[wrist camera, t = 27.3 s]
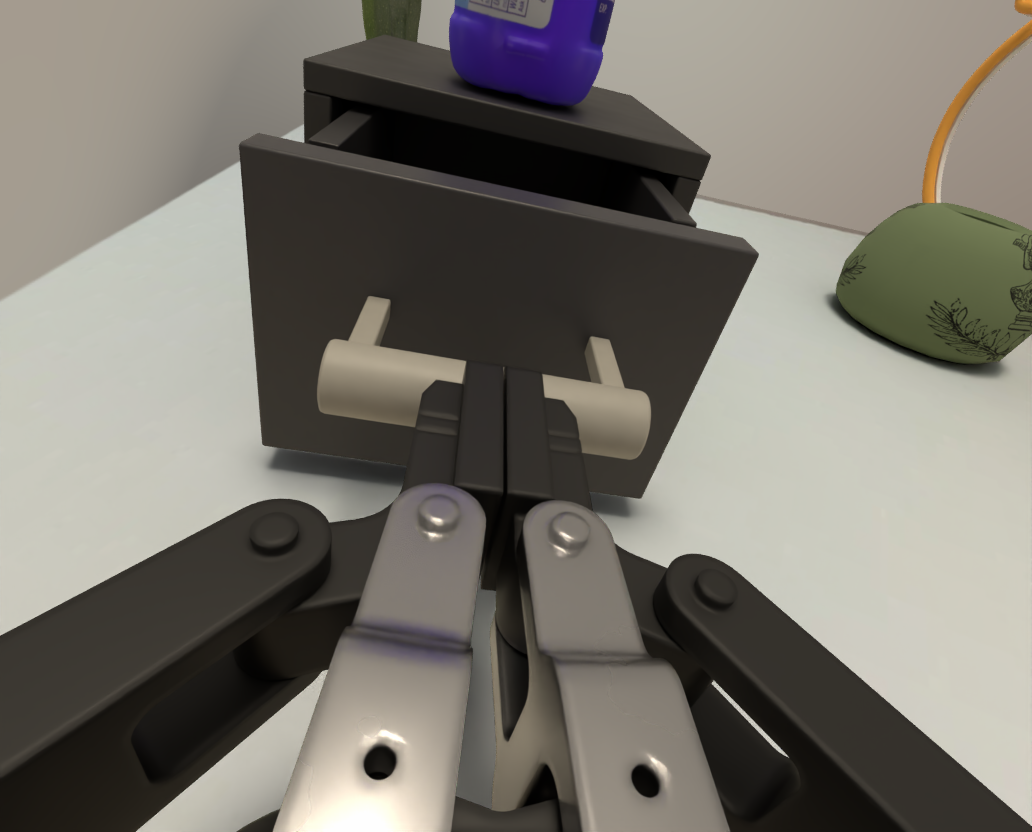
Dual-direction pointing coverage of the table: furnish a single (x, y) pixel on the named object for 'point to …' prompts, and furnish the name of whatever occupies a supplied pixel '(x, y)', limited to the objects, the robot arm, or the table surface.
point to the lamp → (1028, 3)
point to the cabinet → (497, 109)
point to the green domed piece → (943, 282)
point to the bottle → (530, 46)
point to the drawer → (474, 286)
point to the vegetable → (391, 18)
